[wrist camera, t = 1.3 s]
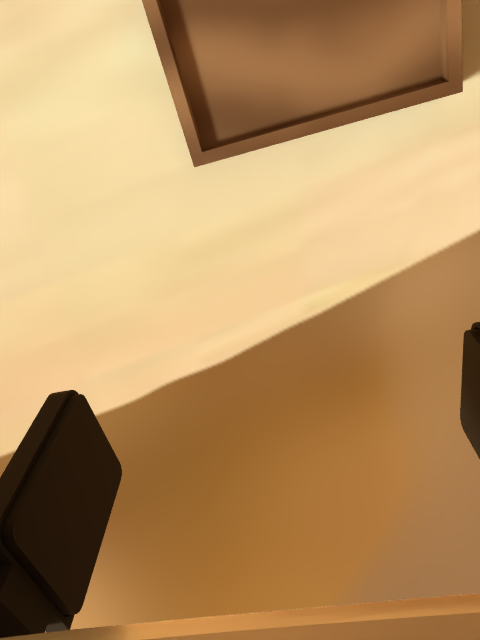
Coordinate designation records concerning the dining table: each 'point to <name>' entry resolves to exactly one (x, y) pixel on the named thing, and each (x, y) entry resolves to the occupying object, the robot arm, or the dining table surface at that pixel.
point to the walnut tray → (299, 65)
